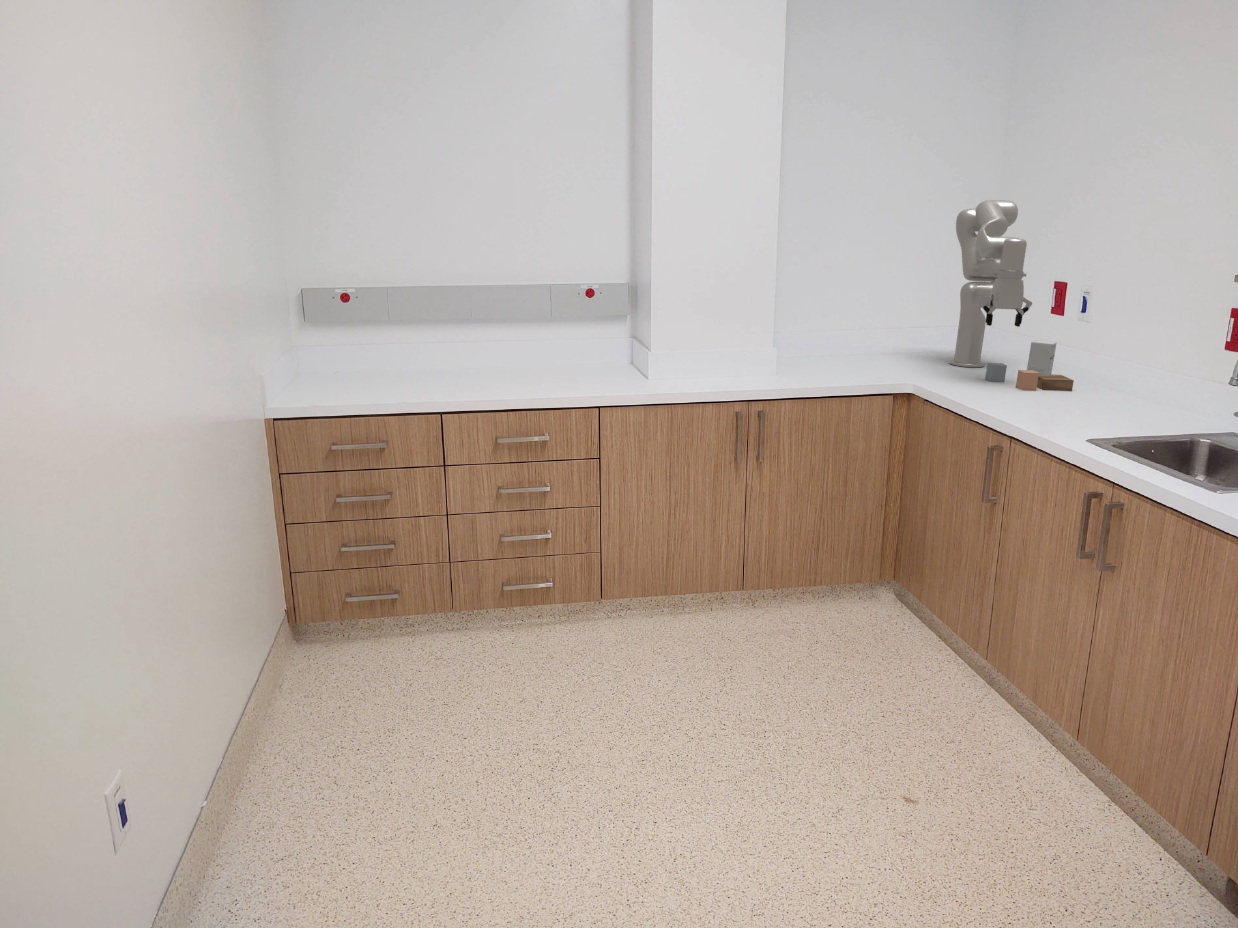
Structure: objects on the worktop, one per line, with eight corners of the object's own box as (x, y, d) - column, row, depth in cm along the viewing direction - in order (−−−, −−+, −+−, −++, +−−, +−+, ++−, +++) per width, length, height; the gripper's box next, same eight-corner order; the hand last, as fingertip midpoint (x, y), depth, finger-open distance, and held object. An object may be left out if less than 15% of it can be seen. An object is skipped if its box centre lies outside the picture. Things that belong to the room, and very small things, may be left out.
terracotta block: (1015, 387, 314) (1018, 369, 313) (1030, 387, 314) (1033, 370, 312) (1021, 390, 309) (1023, 372, 308) (1036, 390, 309) (1039, 373, 308)
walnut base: (1030, 385, 320) (1032, 373, 319) (1059, 386, 320) (1061, 374, 319) (1042, 390, 311) (1043, 379, 310) (1071, 392, 310) (1073, 380, 309)
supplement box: (1046, 379, 330) (1052, 344, 327) (1025, 376, 335) (1030, 341, 331) (1051, 376, 336) (1057, 342, 332) (1030, 373, 340) (1035, 339, 337)
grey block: (985, 379, 327) (987, 362, 325) (999, 379, 327) (1001, 363, 325) (989, 381, 322) (992, 365, 320) (1004, 382, 322) (1006, 365, 320)
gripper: (1031, 275, 317) (1024, 325, 322) (980, 274, 318) (974, 323, 323) (1040, 277, 310) (1032, 328, 315) (988, 275, 311) (981, 326, 315)
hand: (1002, 325), depth 319 cm, fingers open, 9 cm apart
